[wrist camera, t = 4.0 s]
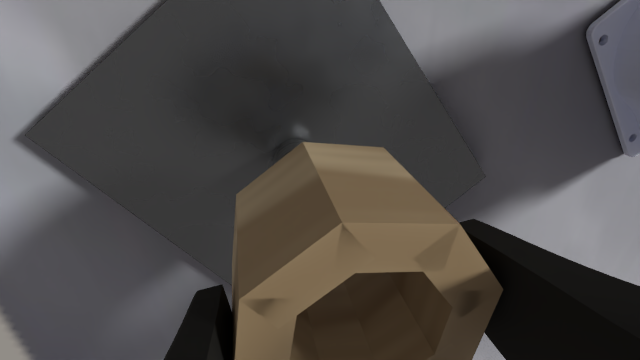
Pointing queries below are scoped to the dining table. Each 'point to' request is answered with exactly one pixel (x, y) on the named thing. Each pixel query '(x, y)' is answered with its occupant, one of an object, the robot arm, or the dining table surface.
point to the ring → (353, 264)
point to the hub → (247, 110)
